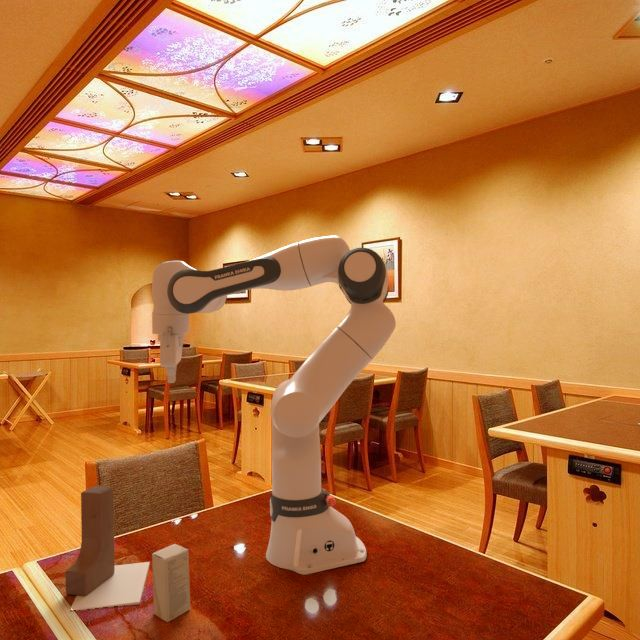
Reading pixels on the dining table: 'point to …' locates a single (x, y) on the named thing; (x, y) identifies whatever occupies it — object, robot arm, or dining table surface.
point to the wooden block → (93, 542)
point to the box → (171, 582)
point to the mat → (116, 588)
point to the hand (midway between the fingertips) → (171, 382)
